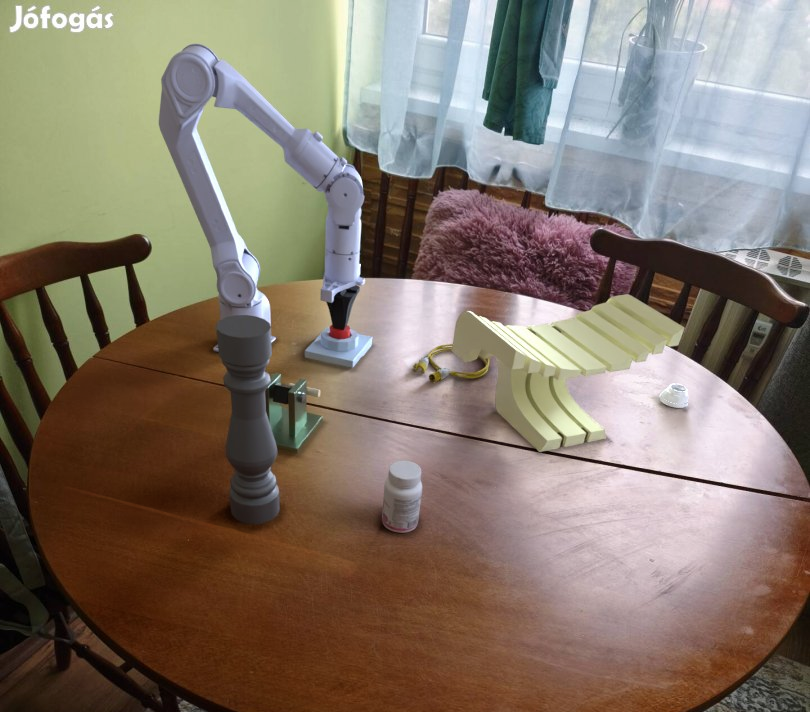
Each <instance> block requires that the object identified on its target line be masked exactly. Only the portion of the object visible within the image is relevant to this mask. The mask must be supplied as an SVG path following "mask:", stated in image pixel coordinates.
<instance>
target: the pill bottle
mask: <svg viewBox="0 0 810 712" xmlns="http://www.w3.org/2000/svg"><path fill="white" fill-rule="evenodd" d="M387 476H388V477H387V478H386V479H385V481H384V487H383V501H382V513H381V522H382V525H383V526H384V527H385V528H386V529H387V530H389V531H391V532H394V533H398V534H399V533H401V534H406V533H409V532H413V531H414V530H415V529H416V528H417V526H418V524H419V517H420V510H421V509H420V508H421V503H422V496H423V495H422V494H423V483H422V481H421V477H422V469H421V467H420V465H418V464H417V463H415V462H414V461H410V460H397V461H394V462H393V463H391V464H390V466H389V468H388V475H387Z"/></svg>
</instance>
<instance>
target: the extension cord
mask: <svg viewBox="0 0 810 712" xmlns="http://www.w3.org/2000/svg"><path fill="white" fill-rule="evenodd" d="M452 345H453V343H447V344H440V345H438V346H436V347H434V348H433V349H432V350H430V352H429V353H428V354H427V356H424V357H421V358H420V359H418V362H416V363H414V365H413V368H414V371H415V372H416V373H420V374H425V373H426V371H427V369H428V367H429V362H430V364H431V366H432V367H433V368H434V369H435V371H434V372H432V373H430V374H429V375H428V378H429V381H430V382H431V383H433V384H435V383H437V382H438V381H439V382H442V381H443V380H444V379H446V378H447V377H449V376H453V377H455V378H462V379H469V380H470V379H477V378H481V377H483V376H485V375H486V374H487V373H488V370H489V366H490V358H485V359H483V358H482V357H481V356H480V355H478V357H477V358H479V359H480V360H481V361H482V362H483V363H484V365H485V366H484V367H483V368H482V369H480V370H478V371H475V372H463V371H456V370H455V371H454V370H450V369H449V368H446V367H443V368H442V367H440V366H439V365H438V364H437V363H435V361H434V360H433V359H432V358H433V357H434V356H435V355H437V354H439V353H441V352H446V351H451V352H453V351H452Z"/></svg>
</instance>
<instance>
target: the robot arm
mask: <svg viewBox="0 0 810 712" xmlns="http://www.w3.org/2000/svg"><path fill="white" fill-rule="evenodd" d="M160 83H161V94H160V103H159V114H158V127H159V131H160V133H161V135H162V138H163V140H164V142H165V145H166V147H167V150H168V152H169V155H170V157H171V159H172V161H173V164H174V167H175V169H176V171H177V173H178V175H179V178H180V180H181V183H182V185H183V187H184V189H185V192H186V194H187V197H188V199H189V201H190V203H191V206H192V208H193V211H194V213H195V216H196V217H197V220H198V223H199V224H200V227H201V229H202V231H203V234H204V236H205V238H206V241H207V243H208V246H209V248H210V254H211V260H212V266H213V270H214V271H215V274H216V291H217V292H218V294H217V297H218V305H219V307H218V308H219V317H220V318H219V320H221V319H223V318H226V317H230V316H235V315H250V316H256V317H259V318H262V319H265V320H266V321H267V322H269V323H270V326H272V323H271V321H272V319H271V304H270V302H269V301H270V300H268V297H267V296H266V295H265V294H264V293H263V292H261V291H260V290H259V289H258V288H257V287H258V285H257V284H258V280H259V279H260V275H261V266H260V262H259V261H258V259H257V258H256V256H254V255H253V254H252V252H250V250H249V249H248V246H247V245H246V242H245V240H244V238H242V236H241V235H240V234H239V233H238V231H237V228H236V225H235V223H234V220H233V218H232V214H231V212H230V210H229V207H228V205H227V202H226V199H225V197H224V195H223V192H222V189H221V187H220V185H219V183H218V180H217V177H216V174H215V172H214V170H213V167H212V164H211V162H210V159H209V157H208V155H207V152H206V149H205V147H204V144H203V142H202V139H201V137H200V134H199V132H198V129H197V128H198V124H199V122H200V119H201V117H202V115H203V111H204V109H205V106H206V105H207V103H208V102H210V100H211V98H212V97H213V98H215V101H214V104H213V107H215V108H220V109H230V110H236V111H238V112H239V114H242V115H243V116H244V117H245V118H246V119H248V121H250V122H251V123H252V124H254V125H255V126H256V127H257V128H258V129H259V130H261V131H262V132H263V133H264V134H266V135H267V136H268V137H269V138H270V139H271V140H273V141H274V142H275V144H277V145H279V146H280V147H281V148H282V151H283V157H284V161H285V163H286V164H287V165H288V166H289V167H290V168H291V169H293V171H295V172H296V173H297V174H298V175H300V176H301V178H303V179H304V180H305V181H306V182H307V183H309V185H311V186H312V187H313V188H314V189H316V190H315V191H317V192H321V193H322V194H324V197H325V201H326V203H327V215H326V217H325V236H324V237H325V239H324V245H325V246H324V272H323V275H322V276H323V278H322V287H321V288H320V296H319V297H320V298H319V299H320V301H322V302H324V303H326V305H327V308H328V311H329V315H330V320H331V325H333V328H335V329H340V330H344V329H345V328H346V327H347V325H348V323H349V320H350V315H351V312H352V308H353V305H354V302H355V300H356V298H357V296H358V294H359V293H360V290H361V286H362V287H363V286H364V284H365V283H366V279H365V277H361V276H360V275H361V263H360V255H361V253H360V251H361V238H362V237H361V235H362V220H361V216H362V206H363V204H364V201H365V195H364V187H363V181H362V177H361V176H360V173H359V172H358V171H357V169H356V167H355V166H354V165H352V164H350V163H348V160H347V159H346V158H345V157H344V156H341V157H339V156H338V155H337V154H336V153H335V152H333V150H331V148H329V147H328V146H327V145H326V144H325V143H324V142H323V138H324V137H323V135H322V134H321V133H320V132H319V131H317V130H315V131H314V133H313V131H311V130H310V129H309V128H295V127H294V126H293V125H292V124H291V123H290V122H289V121H288V120H287V118H285V117H284V116H283V115H282V114H281V113H280V112H279V111H278V110H277V109H276V108H275V107H274V106H273V105H272V104H271V103H270V102H269V101H268V100H267V99H266V98H265V97H264V96H263V95H262V94H261V93H260V92H259V91H258V90H257V89H256V88H255V87H254V86H253V85H252V84H251V83H250V82H249V81H248V80H247V79H246V78H245V77H244V76H243V75H242V74H241V73H240V72H239V71H237V70H236V69H235V68H234V67H233V66H232V65H231V64H230V63H229V62H227V61H225V60H224V59H222V58H220V59H219V57H218V56H217V55H216V53H215V52H214V51H213V50H212V49H211V48H210V47H208V46H206V45H204V44H201V43H191V44H189V45H186V46H185V47H183V49H182V50H181V51H179V52H177V53H175V54H174V55H173V56H172V57H171V58H170V60H169V62H168V64H167V66H166V68H165V70H164V71H163V74H162V76H161V79H160ZM276 339H277V337H276V336H274V335H271V344H272V343H273V342H274V341H276ZM212 349H213V352H215V353H219V351H218V344H216V345H215V346H214V347H213V348H212Z"/></svg>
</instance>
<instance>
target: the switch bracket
mask: <svg viewBox="0 0 810 712" xmlns="http://www.w3.org/2000/svg"><path fill="white" fill-rule="evenodd" d="M281 376H282V375H281V373H277V372H274V373H273V374H272V375H270V379H271V383H270V385H269V387H268V388H267V389H266V390H265V402H266V413H267V416H268V420H269V423H270V426H271V430H272V433H273V436H274V439H275V442H276V446H277V450H278V449H279V450H281V451H286V452H291V453H295V454H298V453H299V452H300V451H301V449H302V448H303V447H304V445H305V444H306V443H307V441H308V440H309V439H310V437H312V435H313V433H314V432H315V431H316V430H317V428H318V427H319V426H320V425H321V423H322V422H323V418H324V417H323V415H321V414H316V413H312V412H308V411H307V395H306V387H307V379H304V378H299V379H298V381H296V382H295V383H294V384H295V385H294V386H293V387H292V388H291V389H290V391H289V392H288V402H289V404H288V407H286V406H282V403H278V402H273V396H274V389H275V385H277V384H282V377H281Z"/></svg>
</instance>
